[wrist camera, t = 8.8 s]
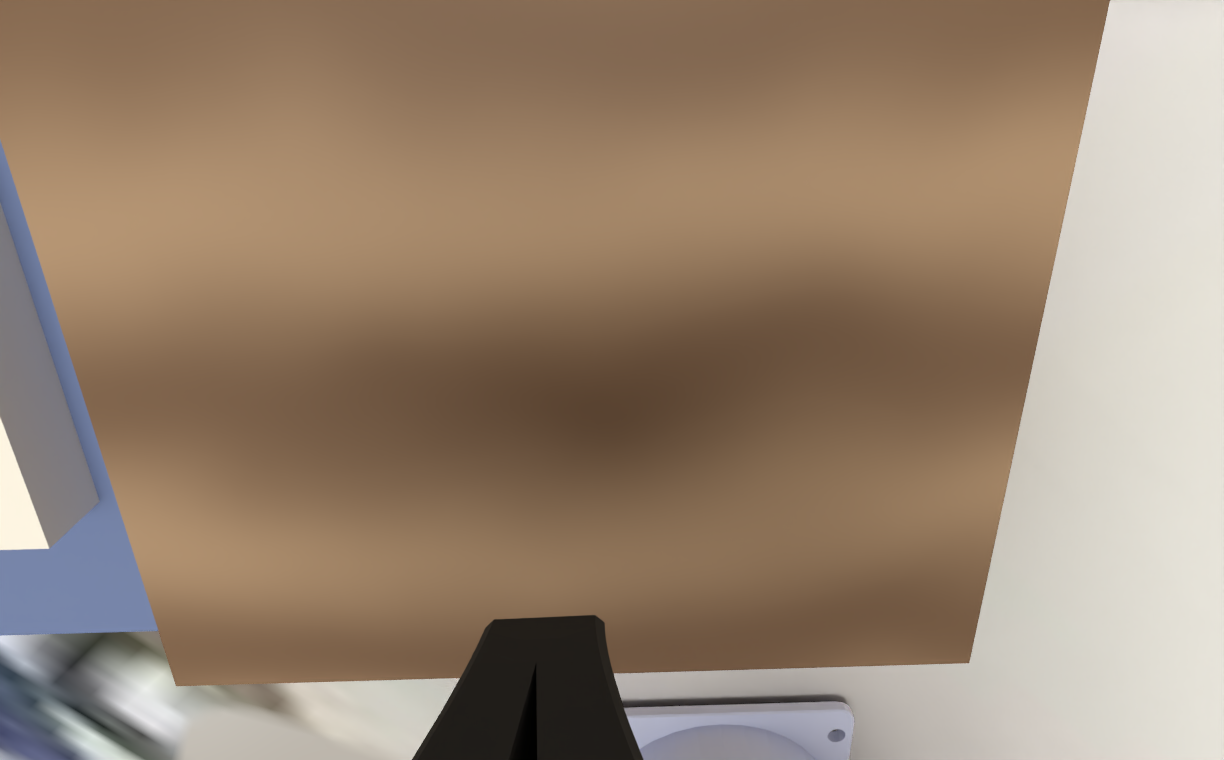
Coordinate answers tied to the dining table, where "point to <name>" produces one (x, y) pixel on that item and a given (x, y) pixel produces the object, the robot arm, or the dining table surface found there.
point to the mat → (98, 543)
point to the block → (34, 424)
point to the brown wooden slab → (550, 313)
